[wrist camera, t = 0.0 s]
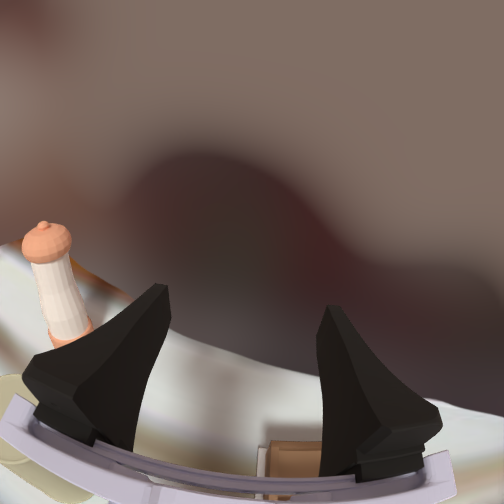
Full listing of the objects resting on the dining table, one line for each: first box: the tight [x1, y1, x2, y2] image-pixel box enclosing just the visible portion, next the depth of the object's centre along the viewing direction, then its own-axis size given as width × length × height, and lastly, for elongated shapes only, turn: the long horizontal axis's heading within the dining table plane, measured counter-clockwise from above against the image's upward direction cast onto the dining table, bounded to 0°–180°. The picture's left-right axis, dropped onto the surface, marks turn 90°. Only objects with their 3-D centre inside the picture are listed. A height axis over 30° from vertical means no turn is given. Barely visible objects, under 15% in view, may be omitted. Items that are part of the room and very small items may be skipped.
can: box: [0, 374, 94, 504], centre depth 14 cm, size 9×9×12 cm
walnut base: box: [263, 441, 322, 501], centre depth 19 cm, size 8×8×4 cm
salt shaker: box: [22, 221, 94, 349], centre depth 30 cm, size 7×7×19 cm
